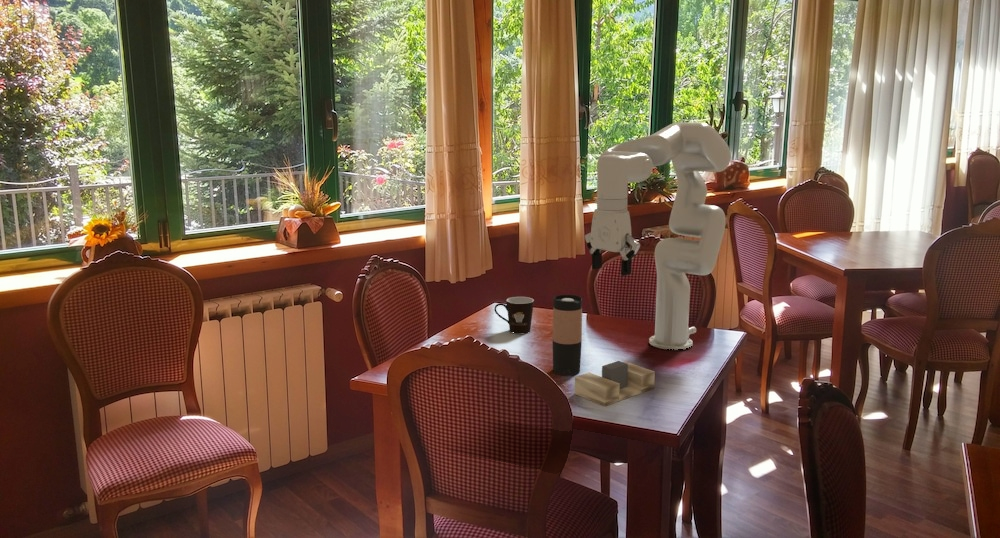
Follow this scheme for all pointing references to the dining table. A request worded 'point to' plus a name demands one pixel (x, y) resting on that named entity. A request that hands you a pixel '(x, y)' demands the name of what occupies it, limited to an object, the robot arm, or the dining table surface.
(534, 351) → the dining table surface
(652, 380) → the notched board
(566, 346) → the travel mug
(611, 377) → the tab
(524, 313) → the coffee mug
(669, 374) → the dining table surface
